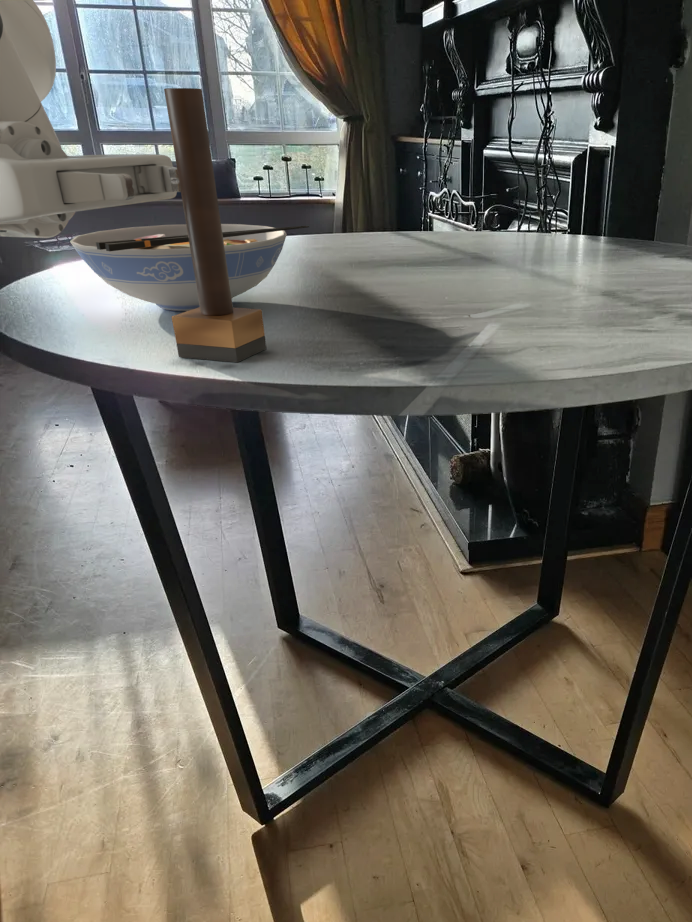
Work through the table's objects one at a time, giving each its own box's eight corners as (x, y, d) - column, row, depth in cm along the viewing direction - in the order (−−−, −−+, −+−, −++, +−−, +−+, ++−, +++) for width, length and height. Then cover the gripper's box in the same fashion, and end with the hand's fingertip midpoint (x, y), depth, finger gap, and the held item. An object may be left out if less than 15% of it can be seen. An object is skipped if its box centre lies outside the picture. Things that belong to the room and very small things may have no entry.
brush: (178, 357, 69) (129, 88, 59) (210, 344, 73) (169, 90, 63) (237, 362, 67) (197, 87, 57) (266, 349, 71) (234, 89, 61)
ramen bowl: (228, 279, 103) (218, 211, 99) (342, 301, 90) (336, 224, 86) (40, 308, 88) (19, 228, 83) (145, 340, 75) (126, 247, 70)
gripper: (104, 211, 77) (230, 214, 74) (-60, 234, 60) (94, 240, 57) (89, 137, 74) (220, 137, 71) (-90, 140, 57) (72, 140, 54)
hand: (162, 183), depth 64 cm, fingers open, 8 cm apart
